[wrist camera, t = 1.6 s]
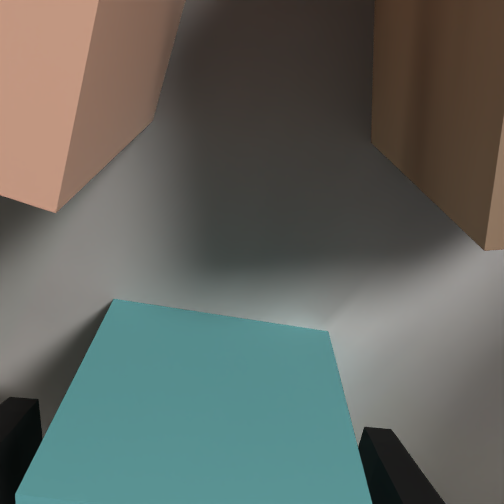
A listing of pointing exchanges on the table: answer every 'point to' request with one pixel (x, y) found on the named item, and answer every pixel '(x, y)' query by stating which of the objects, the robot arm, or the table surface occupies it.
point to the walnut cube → (444, 105)
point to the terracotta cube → (76, 88)
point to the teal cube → (199, 416)
